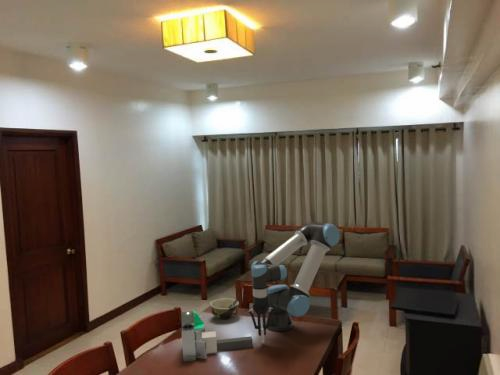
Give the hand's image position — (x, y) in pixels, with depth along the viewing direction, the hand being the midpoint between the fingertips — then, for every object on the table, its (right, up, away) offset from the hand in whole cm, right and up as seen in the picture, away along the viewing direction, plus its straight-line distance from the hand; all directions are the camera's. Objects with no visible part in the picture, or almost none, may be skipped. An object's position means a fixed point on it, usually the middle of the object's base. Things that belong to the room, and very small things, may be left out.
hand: (262, 341), depth 215 cm
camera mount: (-38, -3, +23) cm, 45 cm away
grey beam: (-19, -3, -2) cm, 19 cm away
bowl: (-21, -1, +41) cm, 46 cm away
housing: (-34, -4, -4) cm, 34 cm away
